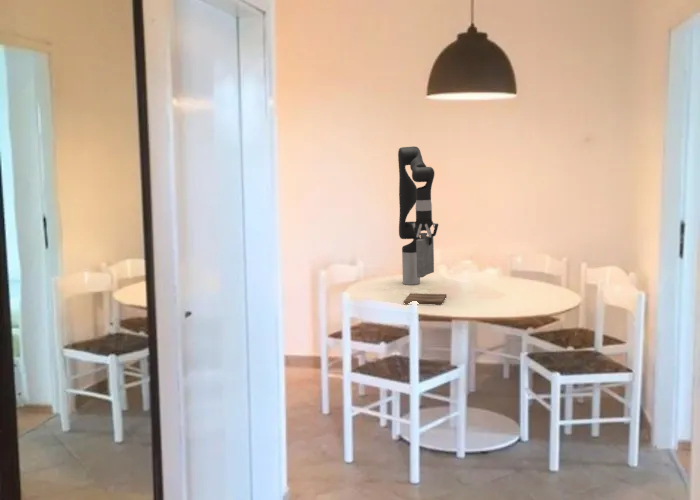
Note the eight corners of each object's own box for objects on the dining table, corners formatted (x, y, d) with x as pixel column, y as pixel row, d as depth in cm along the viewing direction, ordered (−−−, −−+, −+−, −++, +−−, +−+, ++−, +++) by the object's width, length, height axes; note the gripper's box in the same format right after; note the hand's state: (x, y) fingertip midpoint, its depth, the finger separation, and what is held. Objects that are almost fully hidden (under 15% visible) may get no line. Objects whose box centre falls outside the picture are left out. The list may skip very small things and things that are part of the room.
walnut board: (410, 296, 395) (410, 293, 394) (446, 297, 390) (446, 294, 390) (403, 304, 377) (403, 301, 377) (441, 305, 373) (441, 301, 373)
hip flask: (422, 277, 374) (421, 235, 371) (414, 277, 376) (413, 235, 373) (434, 271, 388) (434, 231, 385) (427, 271, 390) (426, 230, 387)
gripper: (439, 208, 379) (440, 244, 382) (410, 208, 383) (410, 243, 385) (437, 210, 372) (438, 246, 374) (407, 210, 375) (408, 246, 378)
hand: (424, 244), depth 380 cm, fingers closed on hip flask, 4 cm apart
